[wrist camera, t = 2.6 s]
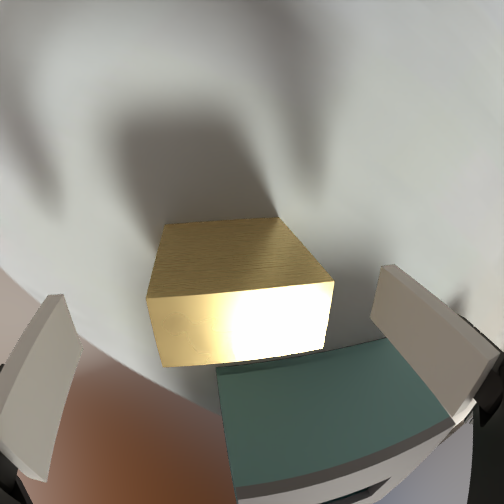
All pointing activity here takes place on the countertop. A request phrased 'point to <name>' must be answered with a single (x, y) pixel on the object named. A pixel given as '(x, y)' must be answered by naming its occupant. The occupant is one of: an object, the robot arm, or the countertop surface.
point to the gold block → (236, 293)
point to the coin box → (327, 425)
